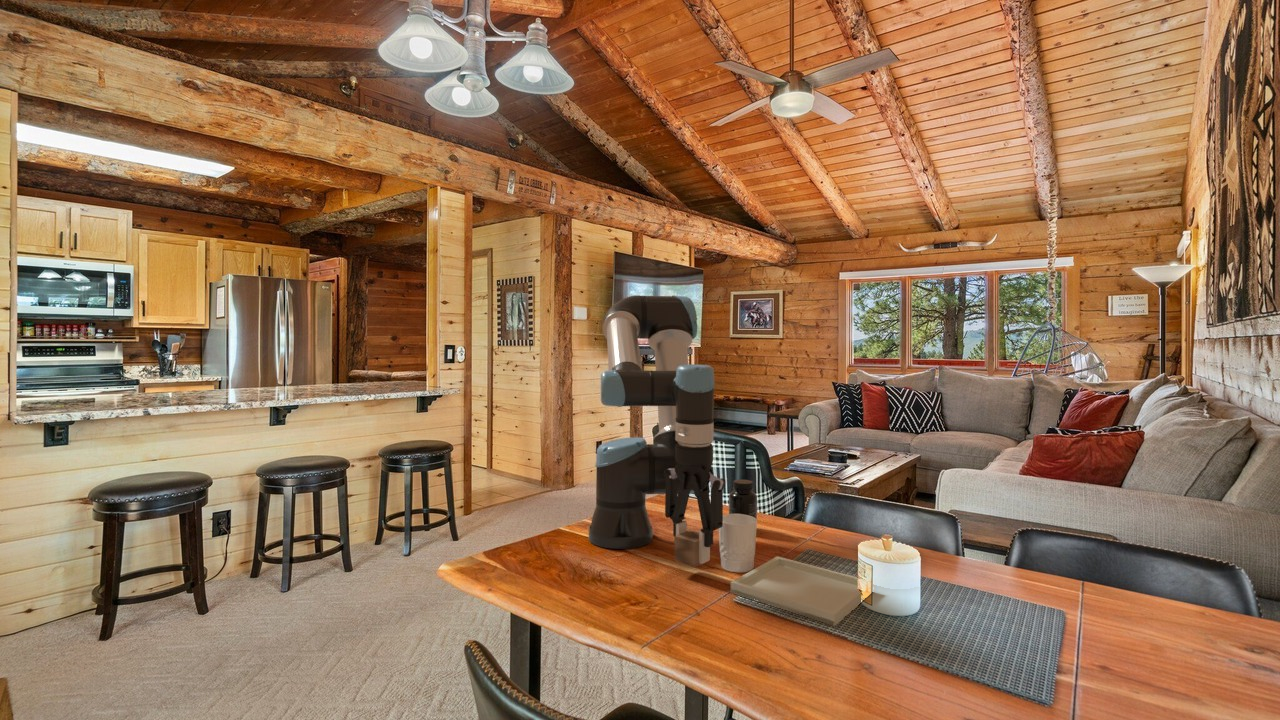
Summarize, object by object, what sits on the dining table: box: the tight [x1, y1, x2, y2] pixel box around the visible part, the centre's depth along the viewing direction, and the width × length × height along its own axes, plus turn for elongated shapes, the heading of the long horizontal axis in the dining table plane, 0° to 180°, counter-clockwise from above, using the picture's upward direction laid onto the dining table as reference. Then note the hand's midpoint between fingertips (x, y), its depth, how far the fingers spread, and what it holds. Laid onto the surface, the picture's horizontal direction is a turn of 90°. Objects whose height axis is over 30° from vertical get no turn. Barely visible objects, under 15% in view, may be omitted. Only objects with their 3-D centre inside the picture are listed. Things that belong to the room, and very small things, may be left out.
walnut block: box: [673, 529, 701, 568], centre depth 122 cm, size 5×5×5 cm
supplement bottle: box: [728, 479, 758, 520], centre depth 151 cm, size 7×7×12 cm
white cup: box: [718, 513, 758, 573], centre depth 126 cm, size 8×8×10 cm
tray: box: [730, 555, 862, 627], centre depth 114 cm, size 20×18×2 cm
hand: (692, 557), depth 122 cm, fingers closed on walnut block, 5 cm apart
